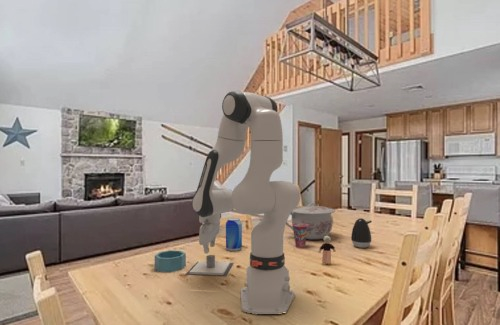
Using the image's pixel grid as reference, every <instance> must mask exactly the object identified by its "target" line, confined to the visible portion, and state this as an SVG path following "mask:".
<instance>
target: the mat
mask: <svg viewBox="0 0 500 325" xmlns="http://www.w3.org/2000/svg"><path fill="white" fill-rule="evenodd" d="M198 262H199V261H196V263H195V264H194V265H192V267H191V268H189V270H188V271H187V272H186V273H185V274H184V276H196V277H197V276H203V277H223V278H224V277H225V278H226V277H227V276H228V274H229V273H230V270H232V267H233V266H234V264H235V263H234V262H230V265H229V267H228V268H227V270H226V271H225V273H224V275H209V274H190V271H191V270H192V269H193V268H194V267H195V265H196V264H197V263H198Z"/></svg>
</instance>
